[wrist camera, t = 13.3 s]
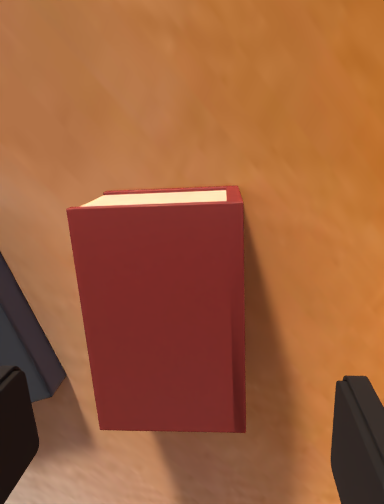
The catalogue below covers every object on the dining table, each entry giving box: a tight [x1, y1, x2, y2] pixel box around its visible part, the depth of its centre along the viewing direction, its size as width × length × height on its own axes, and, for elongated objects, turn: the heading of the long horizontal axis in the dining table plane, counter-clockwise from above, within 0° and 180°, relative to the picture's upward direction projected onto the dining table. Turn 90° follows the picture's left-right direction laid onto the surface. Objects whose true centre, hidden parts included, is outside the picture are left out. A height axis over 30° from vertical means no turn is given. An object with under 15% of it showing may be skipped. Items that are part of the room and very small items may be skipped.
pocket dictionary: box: [66, 186, 246, 433], centre depth 18 cm, size 7×10×5 cm, turn 3°
